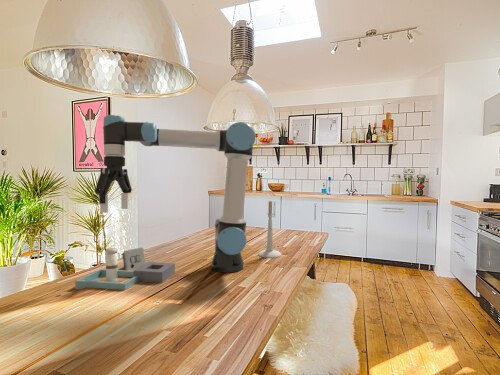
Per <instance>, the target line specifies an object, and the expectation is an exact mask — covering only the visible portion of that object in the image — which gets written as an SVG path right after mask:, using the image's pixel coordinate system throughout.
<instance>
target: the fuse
mask: <svg viewBox="0 0 500 375" xmlns="http://www.w3.org/2000/svg"><path fill="white" fill-rule="evenodd" d="M118 265H119V264H118V247H112V248H106V249H105V269H106V277H105V282H118V276H117V270H118Z"/></svg>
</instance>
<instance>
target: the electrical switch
mask: <svg viewBox="0 0 500 375" xmlns="http://www.w3.org/2000/svg"><path fill="white" fill-rule="evenodd" d="M121 256H122V261H123V268H124V269H125V271H130V270H132V269H137V268H139V267H141V266H143V265H144V264H146V263H147V262H146V257H145V251H144V247H137V248H132V249H128V250H124V251H123V252H122V255H121Z"/></svg>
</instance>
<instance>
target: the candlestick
mask: <svg viewBox="0 0 500 375" xmlns="http://www.w3.org/2000/svg"><path fill="white" fill-rule="evenodd" d="M267 211H268V213H266V214H267V218H268V223H267V224H268V225H267V235H266V249H263V250H260V251H259V252H258V254H257V255H258V256H259V257H261V258H264V259H278V258H280V257H282V253H281V252H280V251H279V250H275V249H274V242H273V241H274V240H273V219H272V218H273V216H274V213H273V201H271V200H270V201H268V210H267Z"/></svg>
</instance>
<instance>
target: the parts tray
mask: <svg viewBox="0 0 500 375" xmlns="http://www.w3.org/2000/svg"><path fill="white" fill-rule="evenodd" d="M117 277H125V278H126V277H127V278H130V279H128V280H127V281H125V282H118V281H117V282H106V281H103V280H102V279H104V278H106V268H105V269H104V268H103V269H102V268H100V269H97V270H95V271H93V272H91V273H89V274H87V275H85V276H83V277H80V278H78V279H75V281H74V284H75V286H74V287H75V290H83V289H84V288H92V289H94V288H95V289H108V290H120V291H121V290H123V291H125V290H128V289H129V288H131V286H133V285H135V284H136V283H138V282H139V281H138V276H135V277H134V270H123V269H121V270H120V269H117ZM101 280H102V281H101Z"/></svg>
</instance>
